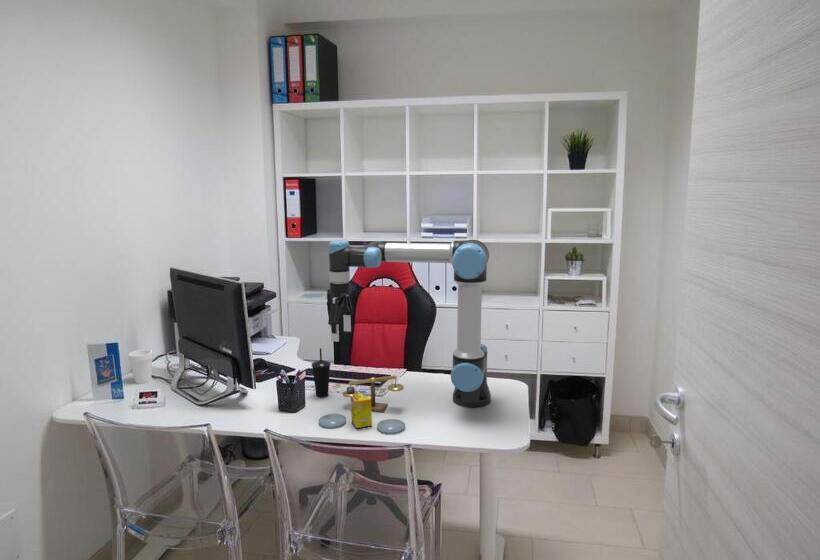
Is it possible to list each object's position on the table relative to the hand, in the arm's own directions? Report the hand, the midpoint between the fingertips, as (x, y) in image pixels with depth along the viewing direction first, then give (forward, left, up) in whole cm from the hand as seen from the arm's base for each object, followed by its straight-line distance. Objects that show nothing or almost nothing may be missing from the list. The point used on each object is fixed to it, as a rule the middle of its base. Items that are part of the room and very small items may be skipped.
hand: (341, 336), depth 222 cm
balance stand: (-13, +2, -28) cm, 30 cm away
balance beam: (-13, +2, -23) cm, 26 cm away
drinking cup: (+11, -6, -28) cm, 31 cm away
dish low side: (-2, +17, -28) cm, 33 cm away
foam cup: (+94, -5, -28) cm, 98 cm away
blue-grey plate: (-24, +17, -28) cm, 40 cm away
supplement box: (-13, +17, -28) cm, 35 cm away
